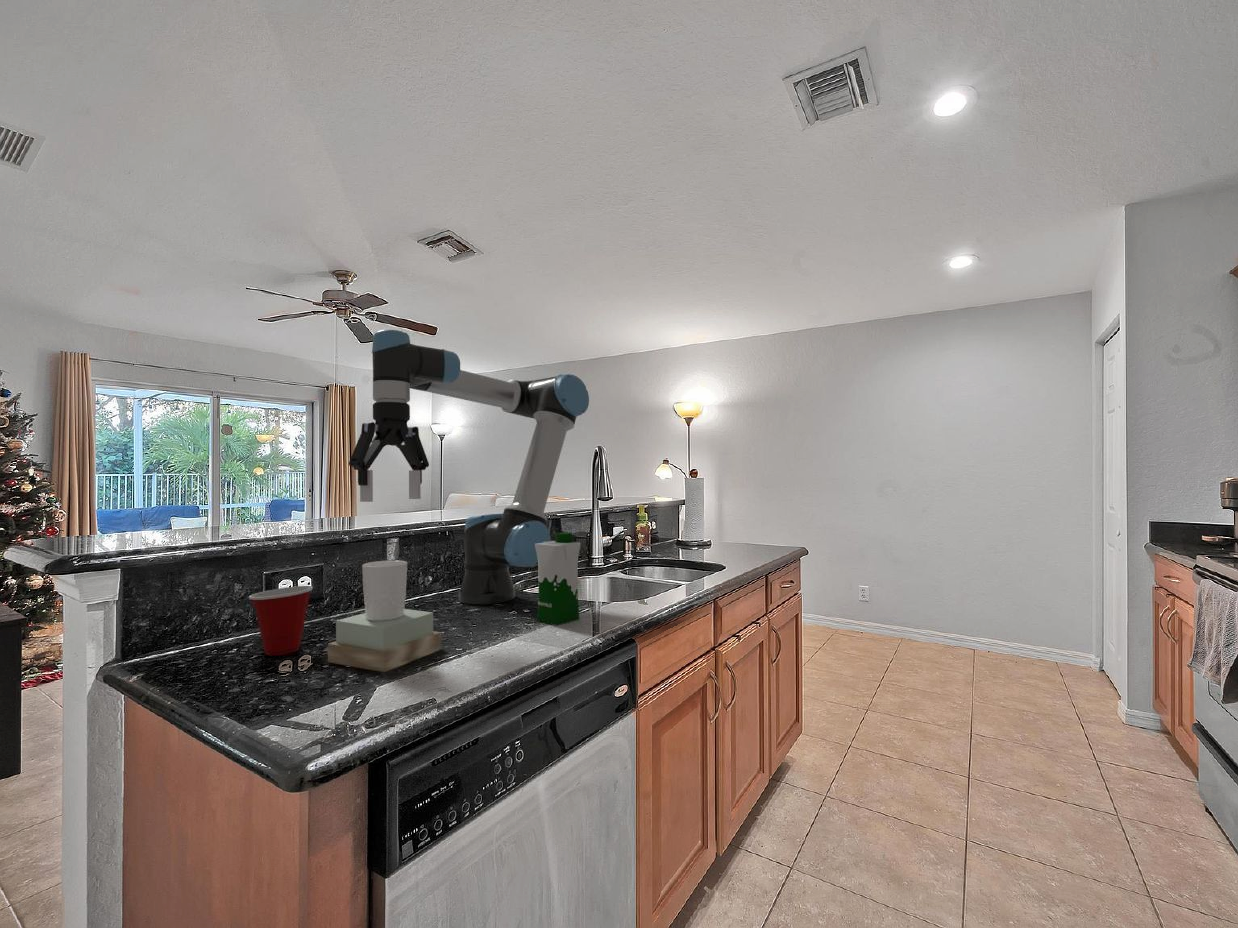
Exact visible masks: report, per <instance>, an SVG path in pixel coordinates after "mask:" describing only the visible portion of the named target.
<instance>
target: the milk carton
mask: <svg viewBox="0 0 1238 928" xmlns="http://www.w3.org/2000/svg"><path fill="white" fill-rule="evenodd" d="M573 538H574V537H573V532H556V533H555V539H554V540H550V542H543V543H537V544H535V548H536V553H537V558H538V563H537V565H538V566H537V567H538V571H537V573H538V574H537V575H538V577H537V579H538V580H537V582H538V583H537V584H538V593H537V595H538V598H537V599H538V600H537V603H538V604H537V615H536V617H537V618H536V621H537V622H543V623H546V624H549V625H550V624H551V625H554V626H559V625H563V624H568V623H571V622H575V621H579V620H580V609H579V608H580V607H579V592H578V591H579V585H578V583H579V578H578V577H579V574H578V570H579V569H578V566H579V565H578V562H579V561H578V560H579V555H580V551H581V542H580V541H579V542H577V541H574V540H573Z"/></svg>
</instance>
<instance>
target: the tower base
mask: <svg viewBox="0 0 1238 928" xmlns="http://www.w3.org/2000/svg"><path fill="white" fill-rule="evenodd" d="M441 650H442V632H441V631H434V630H433V634H430V635H427V636H425V637H422V638H419V639H416V640H413V641H410V642H407V643H404V644H401V645H398V646H396V647H393V648H390V649H387V650H384V651H381V650H375V649H370V648H364V647H358V646H353V645H347V644H342V643H336V640H335V641H332V642H329V643H327V663H330V664H335V665H342V666H348V667H353V668H358V669H359V668H360V669H364V670H369V671H370V670H371V671H375V672H380V673H386V672H389V671H391V670H394V669H396V668H399V667H401V666H403V665H407V664H409V663H411V662H413V661H416V660H419V659H421V658H424V657H426V656H428V655H431V654H433V653H435V652H438V651H441Z"/></svg>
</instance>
